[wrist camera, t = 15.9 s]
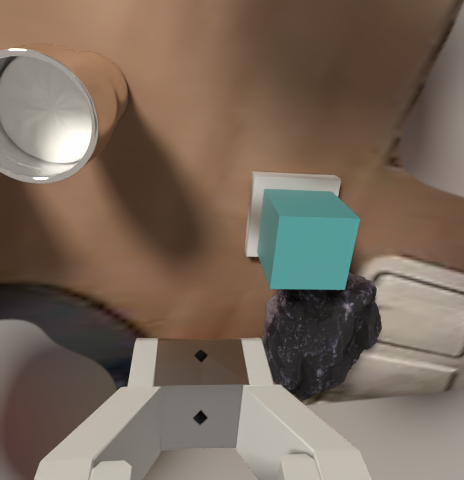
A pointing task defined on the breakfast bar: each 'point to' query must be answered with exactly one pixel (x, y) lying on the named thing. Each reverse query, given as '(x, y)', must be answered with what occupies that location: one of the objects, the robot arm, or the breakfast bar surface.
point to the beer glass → (56, 110)
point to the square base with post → (280, 182)
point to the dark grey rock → (319, 334)
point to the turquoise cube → (306, 239)
